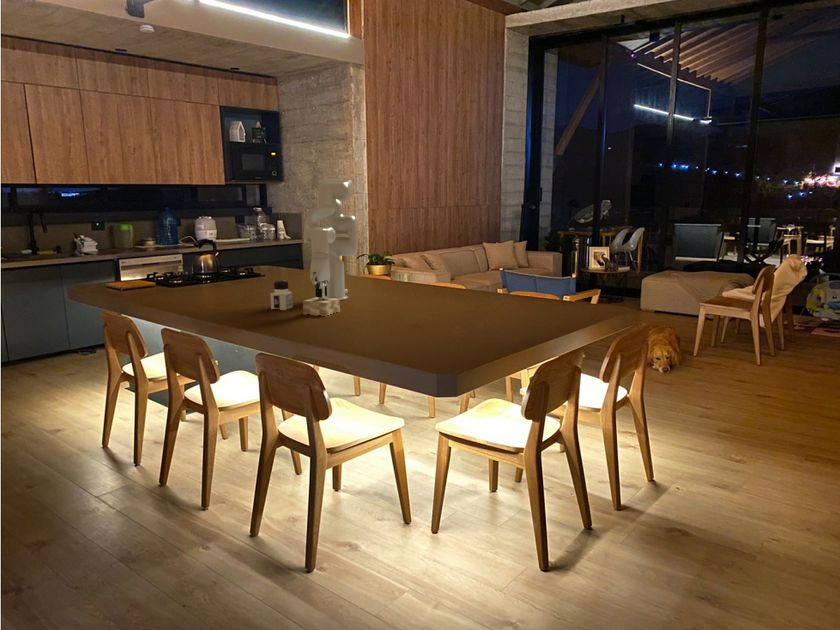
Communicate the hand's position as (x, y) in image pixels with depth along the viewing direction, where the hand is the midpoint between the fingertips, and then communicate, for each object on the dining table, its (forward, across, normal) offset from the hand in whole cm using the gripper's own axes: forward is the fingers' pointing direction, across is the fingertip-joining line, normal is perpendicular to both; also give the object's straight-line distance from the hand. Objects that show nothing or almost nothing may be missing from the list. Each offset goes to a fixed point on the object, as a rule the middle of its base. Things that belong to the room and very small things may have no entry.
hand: (321, 296), depth 287 cm
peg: (+5, 0, 0) cm, 5 cm away
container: (+8, -2, -23) cm, 24 cm away
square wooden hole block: (+8, 0, 0) cm, 8 cm away
